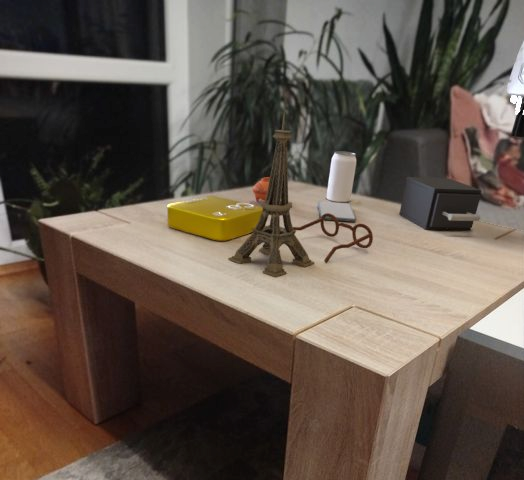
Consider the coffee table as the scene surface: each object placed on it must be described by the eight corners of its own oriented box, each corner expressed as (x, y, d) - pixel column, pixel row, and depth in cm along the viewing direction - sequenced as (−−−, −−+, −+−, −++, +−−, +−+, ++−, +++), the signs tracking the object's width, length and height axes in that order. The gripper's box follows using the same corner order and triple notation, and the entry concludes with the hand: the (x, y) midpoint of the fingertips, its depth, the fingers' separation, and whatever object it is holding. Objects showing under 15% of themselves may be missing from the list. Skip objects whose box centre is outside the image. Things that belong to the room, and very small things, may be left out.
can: (351, 203, 133) (359, 155, 127) (327, 201, 132) (333, 153, 127) (348, 198, 138) (355, 152, 133) (325, 196, 138) (331, 150, 132)
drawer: (482, 233, 112) (492, 199, 108) (440, 232, 109) (449, 198, 106) (444, 214, 126) (451, 184, 122) (406, 213, 123) (412, 182, 120)
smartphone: (320, 215, 114) (318, 200, 127) (319, 220, 115) (317, 204, 128) (356, 219, 114) (350, 203, 127) (355, 223, 115) (350, 207, 128)
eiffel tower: (268, 248, 93) (280, 98, 81) (314, 263, 87) (334, 104, 75) (228, 259, 86) (235, 96, 74) (275, 277, 80) (291, 103, 68)
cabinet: (470, 230, 117) (481, 190, 112) (425, 229, 114) (434, 188, 110) (440, 215, 128) (449, 178, 124) (399, 214, 126) (406, 176, 121)
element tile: (210, 214, 112) (211, 192, 110) (266, 228, 105) (268, 205, 103) (163, 226, 101) (162, 202, 98) (221, 243, 94) (222, 217, 91)
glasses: (371, 252, 96) (376, 226, 93) (325, 263, 88) (329, 235, 85) (321, 234, 104) (324, 210, 102) (275, 243, 96) (277, 217, 94)
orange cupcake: (289, 206, 123) (286, 178, 120) (259, 213, 123) (255, 185, 119) (281, 197, 130) (277, 171, 126) (252, 204, 129) (247, 177, 125)
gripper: (508, 29, 97) (481, 131, 106) (563, 24, 85) (528, 140, 93) (541, 33, 99) (512, 133, 108) (600, 28, 86) (562, 142, 95)
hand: (519, 136), depth 101 cm, fingers closed
